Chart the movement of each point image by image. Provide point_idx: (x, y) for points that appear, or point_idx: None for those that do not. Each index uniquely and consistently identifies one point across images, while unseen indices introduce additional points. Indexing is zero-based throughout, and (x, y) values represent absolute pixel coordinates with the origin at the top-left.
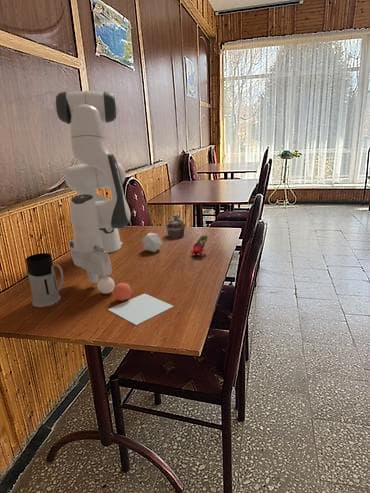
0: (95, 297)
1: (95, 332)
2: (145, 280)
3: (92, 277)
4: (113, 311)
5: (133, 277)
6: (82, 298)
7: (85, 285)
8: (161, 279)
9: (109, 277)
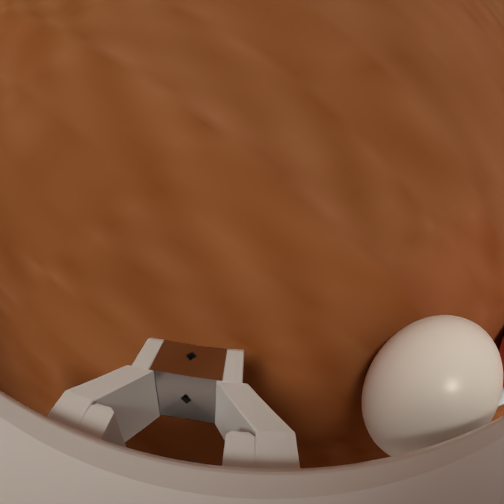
0: None
1: None
2: (469, 38)
3: (185, 408)
4: (500, 403)
5: (361, 3)
6: (305, 455)
7: (127, 357)
8: (501, 18)
9: (493, 396)
